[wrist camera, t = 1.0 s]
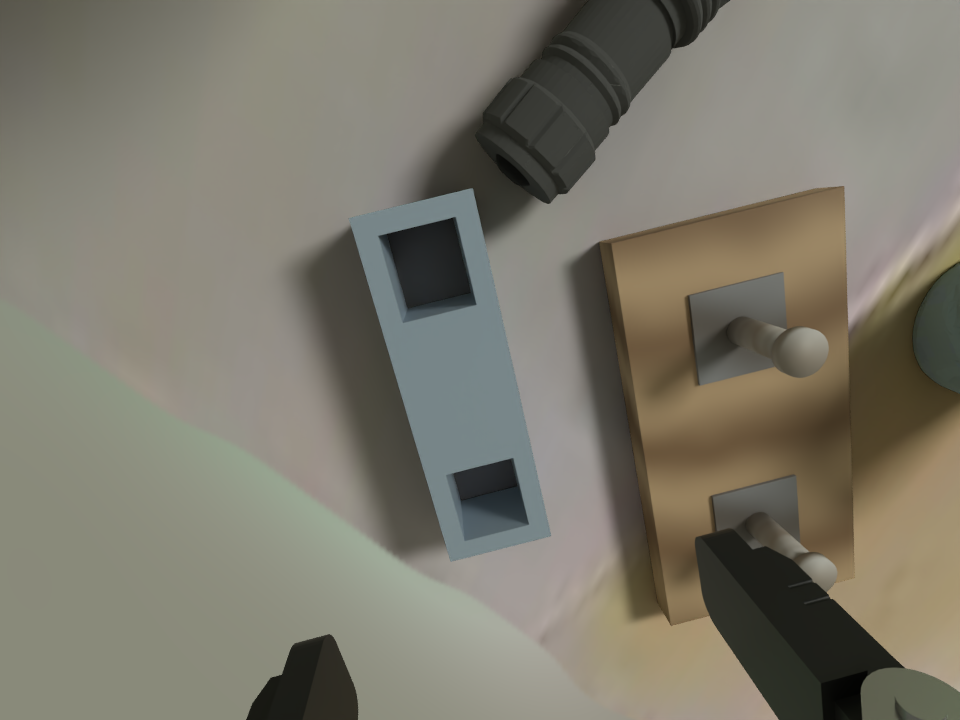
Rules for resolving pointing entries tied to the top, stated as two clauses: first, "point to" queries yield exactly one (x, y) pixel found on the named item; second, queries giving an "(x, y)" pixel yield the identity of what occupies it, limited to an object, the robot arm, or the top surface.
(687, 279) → the mount board
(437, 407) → the blue-grey block with holes
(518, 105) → the flashlight
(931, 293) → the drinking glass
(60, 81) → the top surface
